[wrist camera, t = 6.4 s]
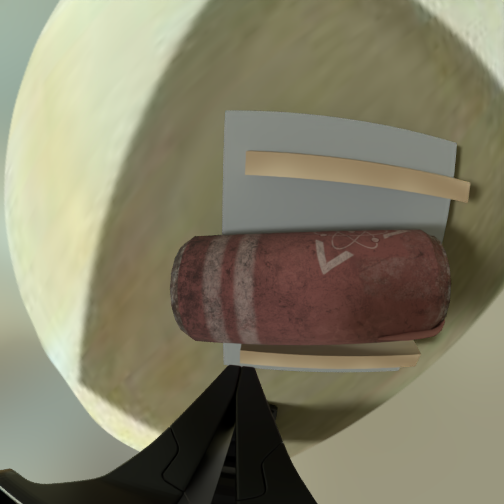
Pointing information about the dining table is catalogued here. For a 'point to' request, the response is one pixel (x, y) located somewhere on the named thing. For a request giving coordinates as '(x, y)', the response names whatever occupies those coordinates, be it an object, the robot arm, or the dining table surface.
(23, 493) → the robot arm
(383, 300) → the can
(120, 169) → the dining table surface
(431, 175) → the tray
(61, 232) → the dining table surface
